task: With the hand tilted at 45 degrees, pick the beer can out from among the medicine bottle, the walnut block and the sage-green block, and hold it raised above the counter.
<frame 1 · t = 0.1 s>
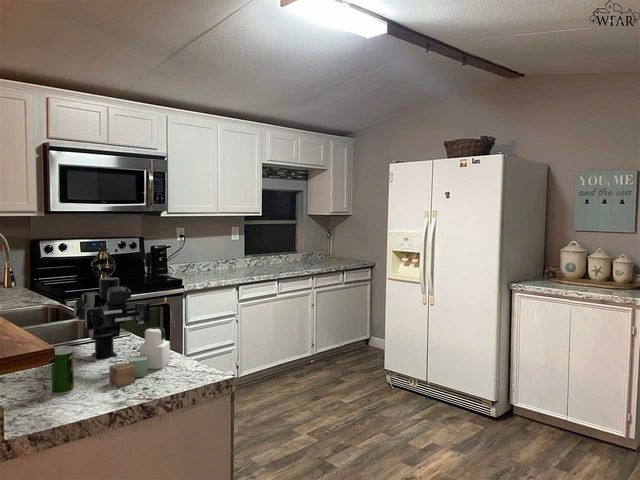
hand: (127, 321, 147), 17 cm above the counter, tool horizontal, fingers open, 9 cm apart
sage block: (137, 374, 150), on the counter
medicine bottle: (155, 366, 158), on the counter
beer can: (62, 392, 135), on the counter
walnut block: (122, 383, 142), on the counter
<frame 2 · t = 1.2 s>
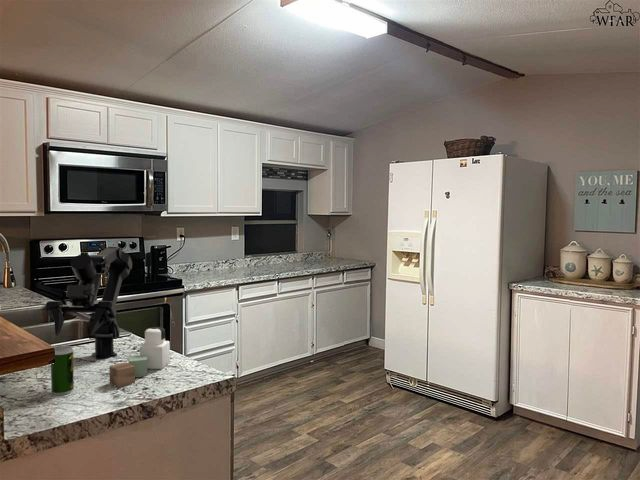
hand: (73, 334, 142), 14 cm above the counter, tool tilted 45°, fingers open, 9 cm apart
nothing on the counter moved.
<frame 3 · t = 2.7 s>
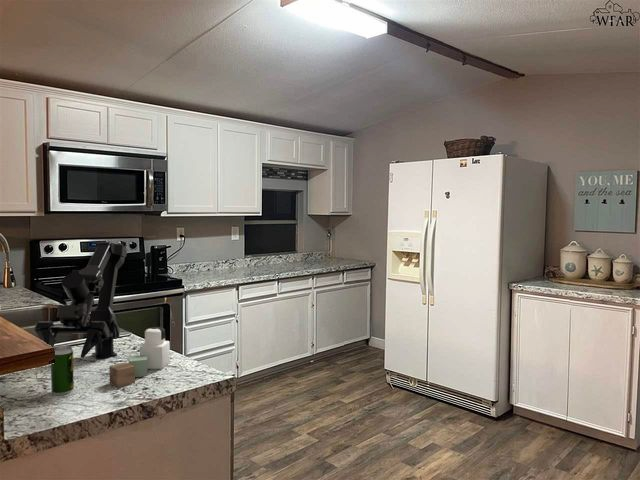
hand: (64, 357, 136), 9 cm above the counter, tool tilted 45°, fingers open, 9 cm apart
nothing on the counter moved.
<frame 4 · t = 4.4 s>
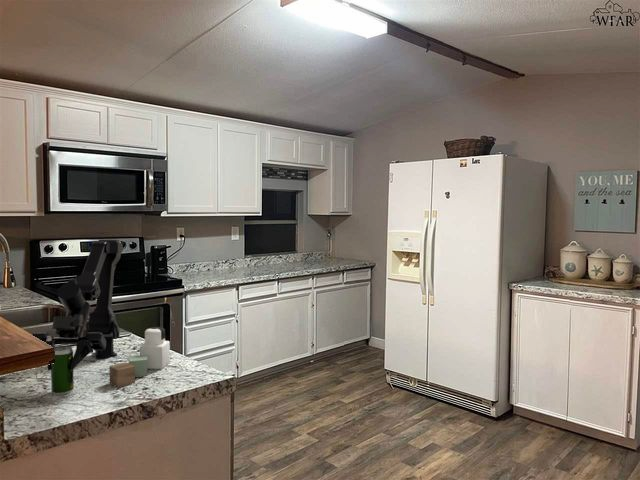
hand: (59, 369, 133), 7 cm above the counter, tool tilted 45°, fingers closed on beer can, 5 cm apart
beer can: (62, 392, 135), on the counter, touching gripper
everything else where it was.
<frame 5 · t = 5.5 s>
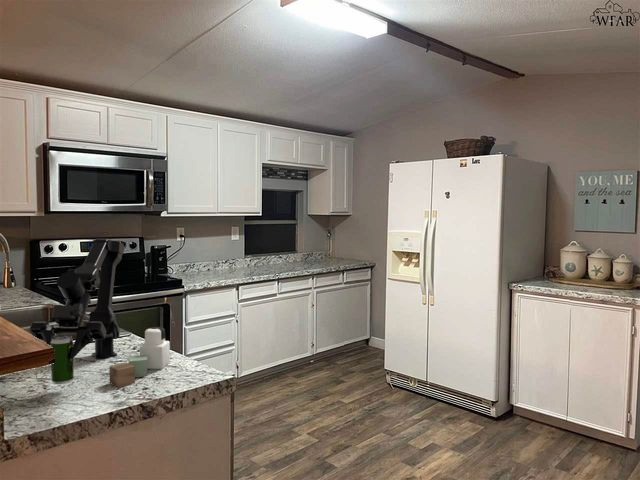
hand: (59, 358, 133), 10 cm above the counter, tool tilted 45°, fingers closed on beer can, 5 cm apart
beer can: (62, 381, 135), point 3 cm above the counter, touching gripper
everything else where it was.
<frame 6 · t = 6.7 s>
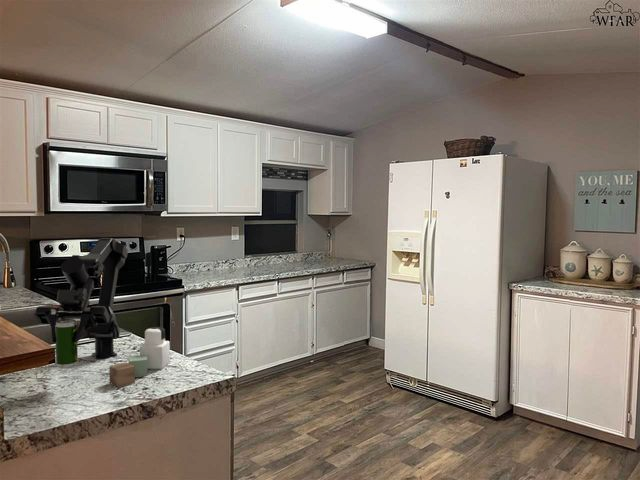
hand: (64, 342, 136), 13 cm above the counter, tool tilted 45°, fingers closed on beer can, 5 cm apart
beer can: (67, 364, 138), point 6 cm above the counter, touching gripper
everything else where it was.
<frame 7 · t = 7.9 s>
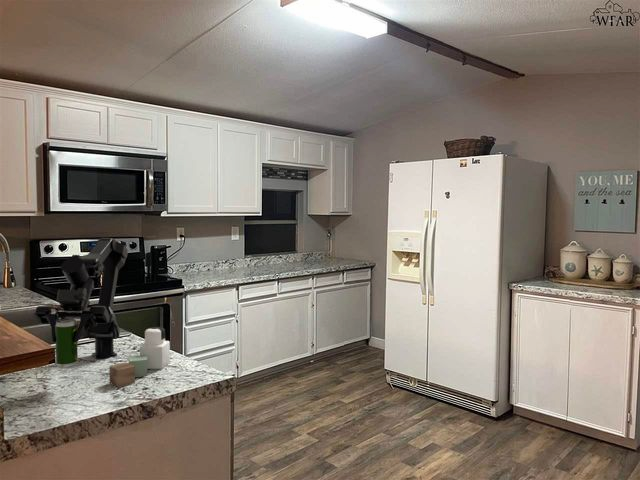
hand: (64, 341, 136), 13 cm above the counter, tool tilted 45°, fingers closed on beer can, 5 cm apart
beer can: (67, 364, 138), point 6 cm above the counter, touching gripper
everything else where it was.
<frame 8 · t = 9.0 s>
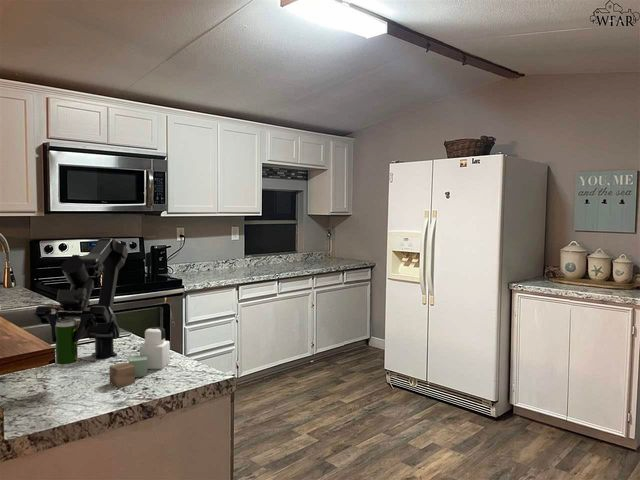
hand: (64, 341, 136), 13 cm above the counter, tool tilted 45°, fingers closed on beer can, 5 cm apart
beer can: (67, 364, 138), point 6 cm above the counter, touching gripper
everything else where it was.
at the end: the gripper is holding beer can; beer can point 6.5 cm above the counter; walnut block moved 0.1 cm from its start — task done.
